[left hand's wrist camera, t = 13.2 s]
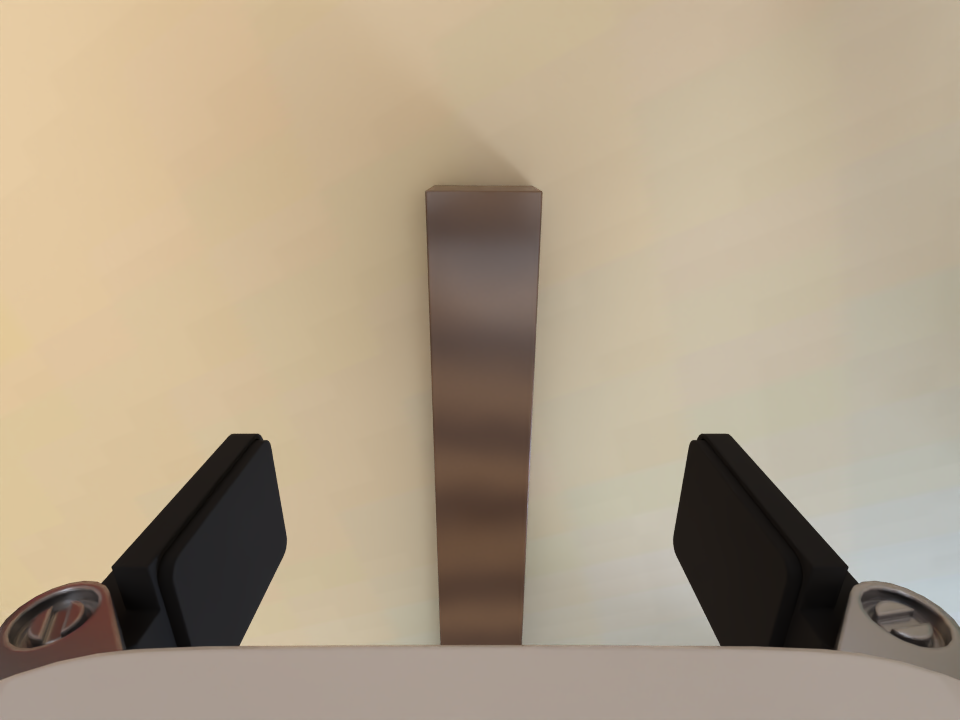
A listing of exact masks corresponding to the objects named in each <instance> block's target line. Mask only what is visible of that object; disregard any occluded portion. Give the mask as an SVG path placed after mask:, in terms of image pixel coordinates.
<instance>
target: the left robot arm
mask: <svg viewBox="0 0 960 720" xmlns="http://www.w3.org/2000/svg"><path fill="white" fill-rule="evenodd" d="M286 545H287V536H286V530H285V524H284V519H283V513H282V507H281V501H280V496H279V490H278V484H277V478H276V472H275V467H274V461H273V455H272V449H271V445H270V443H269V441H268V440H263V438H262V437H261V435H259V434H231V435H230V436H229V437H228V438H227V439H226V440H225V441H224V442H223V443H222V444H221V445H220V447H219V448H218V449H217V450H216V451H215V452H214V453H213V454H212V455H211V457H210V458H209V459H208V460H207V461H206V462H205V463H204V464H203V466H202V467H201V468H200V469H199V470H198V471H197V472H196V473H195V474H194V476H193V477H192V478H191V479H190V480H189V481H188V482H187V483H186V484H185V486H184V487H183V488H182V489H181V490H180V491H179V492H178V493H177V494H176V496H175V497H174V498H173V499H172V500H171V501H170V502H169V503H168V505H167V506H166V507H165V508H164V509H163V510H162V511H161V512H160V513H159V515H158V516H157V517H156V518H155V519H154V520H153V521H152V522H151V523H150V525H149V526H148V527H147V528H146V529H145V530H144V531H143V532H142V534H141V535H140V536H139V537H138V538H137V539H136V540H135V541H134V542H133V544H132V545H131V546H130V547H129V548H128V549H127V550H126V551H125V552H124V554H123V555H122V556H121V557H120V558H119V559H118V560H117V561H116V562H115V564H114V565H113V566H112V570H113V571H112V572H111V573H110V574H109V575H108V577H107V578H106V579H105V580H104V581H103V582H102V583H99V582H93V581H81V582H74V583H69V584H66V585H62V586H59V587H56V588H53V589H51V590H49V591H47V592H45V593H43V594H40V595H38V596H36V597H35V598H33V599H31V600H30V601H28V602H27V603H25V604H24V605H22V606H21V607H19V608H18V609H17V610H16V611H15V612H14V613H13V614H11V615H10V616H9V617H8V618H7V619H6V620H5V622H4V623H3V624H2V626H1V627H0V720H960V627H959V626H958V624H957V623H956V622H955V620H954V619H953V618H952V617H951V616H950V615H949V614H947V613H946V612H945V611H944V610H943V609H942V608H941V607H939V606H938V605H936V604H935V603H933V602H932V601H930V600H929V599H927V598H925V597H924V596H922V595H920V594H917V593H915V592H913V591H911V590H909V589H907V588H904V587H901V586H898V585H894V584H891V583H886V582H879V581H867V582H861V583H858V582H857V581H856V580H855V579H854V578H853V577H852V575H851V574H850V573H849V572H848V571H847V570H848V566H847V565H846V564H845V562H844V561H843V560H842V559H841V558H840V557H839V556H838V555H837V554H836V552H835V551H834V550H833V549H832V548H831V547H830V546H829V545H828V544H827V542H826V541H825V540H824V539H823V538H822V537H821V536H820V535H819V534H818V532H817V531H816V530H815V529H814V528H813V527H812V526H811V525H810V523H809V522H808V521H807V520H806V519H805V518H804V517H803V516H802V515H801V513H800V512H799V511H798V510H797V509H796V508H795V507H794V506H793V505H792V503H791V502H790V501H789V500H788V499H787V498H786V497H785V496H784V495H783V493H782V492H781V491H780V490H779V489H778V488H777V487H776V486H775V484H774V483H773V482H772V481H771V480H770V479H769V478H768V477H767V476H766V474H765V473H764V472H763V471H762V470H761V469H760V468H759V467H758V466H757V464H756V463H755V462H754V461H753V460H752V459H751V458H750V457H749V455H748V454H747V453H746V452H745V451H744V450H743V449H742V448H741V447H740V445H739V444H738V443H737V442H736V441H735V440H734V439H733V438H732V437H731V436H730V435H729V434H701V435H699V437H698V438H697V440H692V441H691V443H690V445H689V449H688V455H687V461H686V467H685V472H684V478H683V484H682V490H681V496H680V501H679V507H678V513H677V519H676V524H675V530H674V536H673V545H674V550H675V554H676V556H677V558H678V560H679V562H680V564H681V566H682V568H683V570H684V572H685V574H686V576H687V578H688V580H689V582H690V584H691V586H692V588H693V591H694V593H695V595H696V597H697V599H698V601H699V603H700V605H701V607H702V609H703V611H704V613H705V615H706V617H707V619H708V621H709V623H710V625H711V627H712V629H713V631H714V633H715V635H716V637H717V639H718V641H719V643H720V645H721V646H620V645H340V646H239V645H240V643H241V641H242V639H243V637H244V635H245V633H246V631H247V629H248V627H249V625H250V623H251V621H252V619H253V617H254V615H255V613H256V611H257V609H258V607H259V605H260V603H261V601H262V599H263V597H264V595H265V593H266V591H267V588H268V586H269V584H270V582H271V580H272V578H273V576H274V574H275V572H276V570H277V568H278V566H279V564H280V562H281V560H282V558H283V556H284V554H285V550H286Z"/></svg>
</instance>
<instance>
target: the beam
mask: <svg viewBox="0 0 960 720" xmlns="http://www.w3.org/2000/svg"><path fill="white" fill-rule="evenodd" d="M425 197H426V226H427V256H428V285H429V315H430V344H431V374H432V404H433V433H434V463H435V492H436V522H437V551H438V581H439V611H440V640H441V645H522V624H523V603H524V581H525V559H526V538H527V516H528V494H529V473H530V451H531V429H532V408H533V386H534V364H535V343H536V321H537V299H538V278H539V256H540V234H541V213H542V191H540V190H539V189H537V188H535V187H533V186H433V187H431V188H430V189H428V190H427V191H426V192H425Z"/></svg>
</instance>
